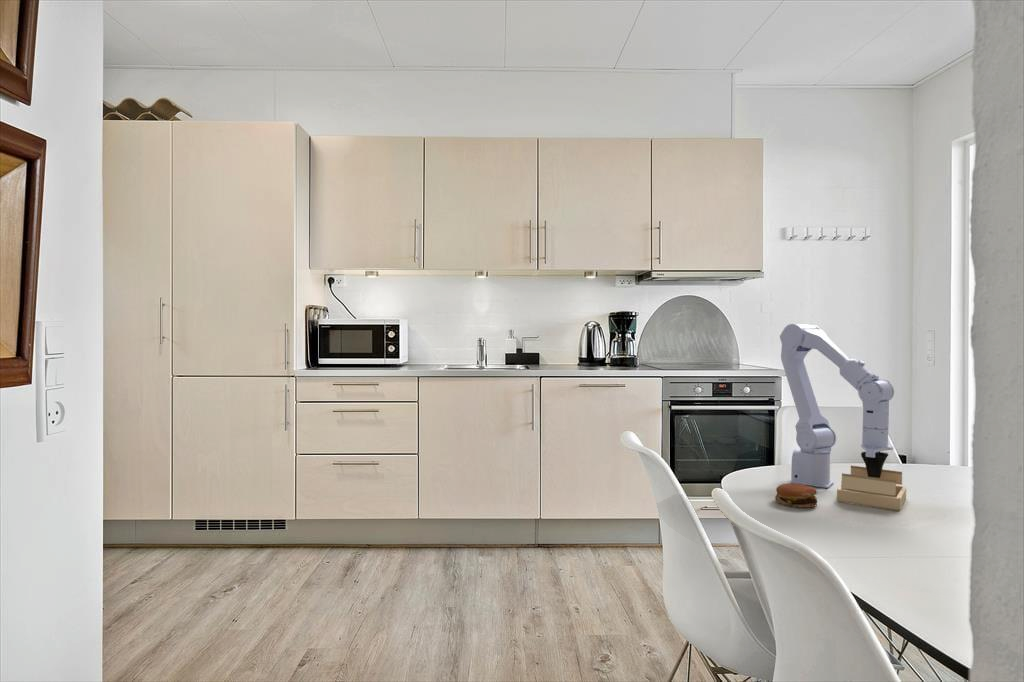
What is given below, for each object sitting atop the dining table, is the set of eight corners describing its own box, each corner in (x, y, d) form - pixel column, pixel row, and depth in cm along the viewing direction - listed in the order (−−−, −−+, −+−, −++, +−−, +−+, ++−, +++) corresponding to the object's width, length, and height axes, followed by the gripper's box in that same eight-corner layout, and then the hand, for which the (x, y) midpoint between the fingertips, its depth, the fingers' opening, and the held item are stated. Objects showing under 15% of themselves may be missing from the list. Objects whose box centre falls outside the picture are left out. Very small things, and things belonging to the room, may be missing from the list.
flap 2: (841, 487, 162) (842, 473, 163) (841, 487, 163) (842, 473, 163) (895, 495, 155) (896, 480, 156) (895, 495, 156) (896, 480, 156)
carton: (836, 501, 163) (836, 489, 163) (846, 490, 174) (847, 478, 174) (899, 511, 155) (899, 498, 155) (906, 498, 166) (906, 486, 166)
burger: (770, 498, 166) (770, 479, 166) (808, 499, 165) (809, 480, 165) (782, 509, 156) (783, 489, 156) (823, 510, 156) (824, 491, 155)
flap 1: (902, 484, 166) (902, 471, 165) (902, 484, 166) (901, 472, 165) (851, 477, 173) (850, 465, 172) (850, 478, 173) (850, 465, 172)
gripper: (889, 433, 158) (887, 489, 159) (897, 425, 170) (895, 478, 170) (856, 430, 162) (855, 484, 163) (866, 423, 174) (865, 474, 174)
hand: (873, 481), depth 167 cm, fingers closed
